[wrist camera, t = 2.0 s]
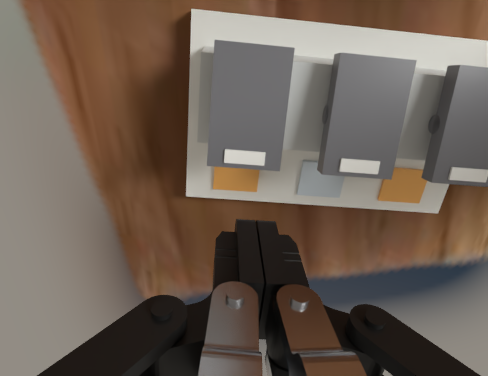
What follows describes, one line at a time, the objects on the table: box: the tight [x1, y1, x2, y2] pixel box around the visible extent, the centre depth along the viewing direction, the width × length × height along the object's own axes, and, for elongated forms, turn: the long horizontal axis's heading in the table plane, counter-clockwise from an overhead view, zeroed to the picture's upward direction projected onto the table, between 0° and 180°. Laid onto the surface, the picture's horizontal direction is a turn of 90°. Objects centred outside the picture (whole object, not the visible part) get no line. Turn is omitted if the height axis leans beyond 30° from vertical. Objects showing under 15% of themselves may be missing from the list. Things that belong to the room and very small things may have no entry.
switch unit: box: [186, 9, 488, 213], centre depth 27 cm, size 22×14×6 cm, turn 84°
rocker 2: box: [421, 65, 488, 187], centre depth 22 cm, size 4×7×2 cm, turn 174°
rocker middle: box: [317, 53, 417, 180], centre depth 22 cm, size 4×7×2 cm, turn 174°
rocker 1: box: [207, 40, 295, 171], centre depth 21 cm, size 4×7×2 cm, turn 174°
